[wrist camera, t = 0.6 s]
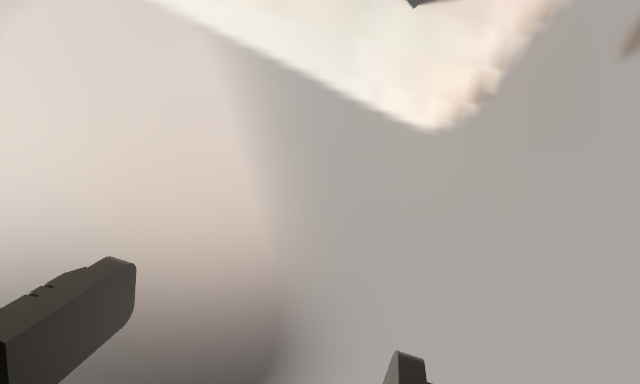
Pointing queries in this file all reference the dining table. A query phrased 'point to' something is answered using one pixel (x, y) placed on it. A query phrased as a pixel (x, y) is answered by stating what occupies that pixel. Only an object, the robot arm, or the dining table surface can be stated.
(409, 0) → the panel
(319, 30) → the dining table surface
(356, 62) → the dining table surface
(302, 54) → the dining table surface
